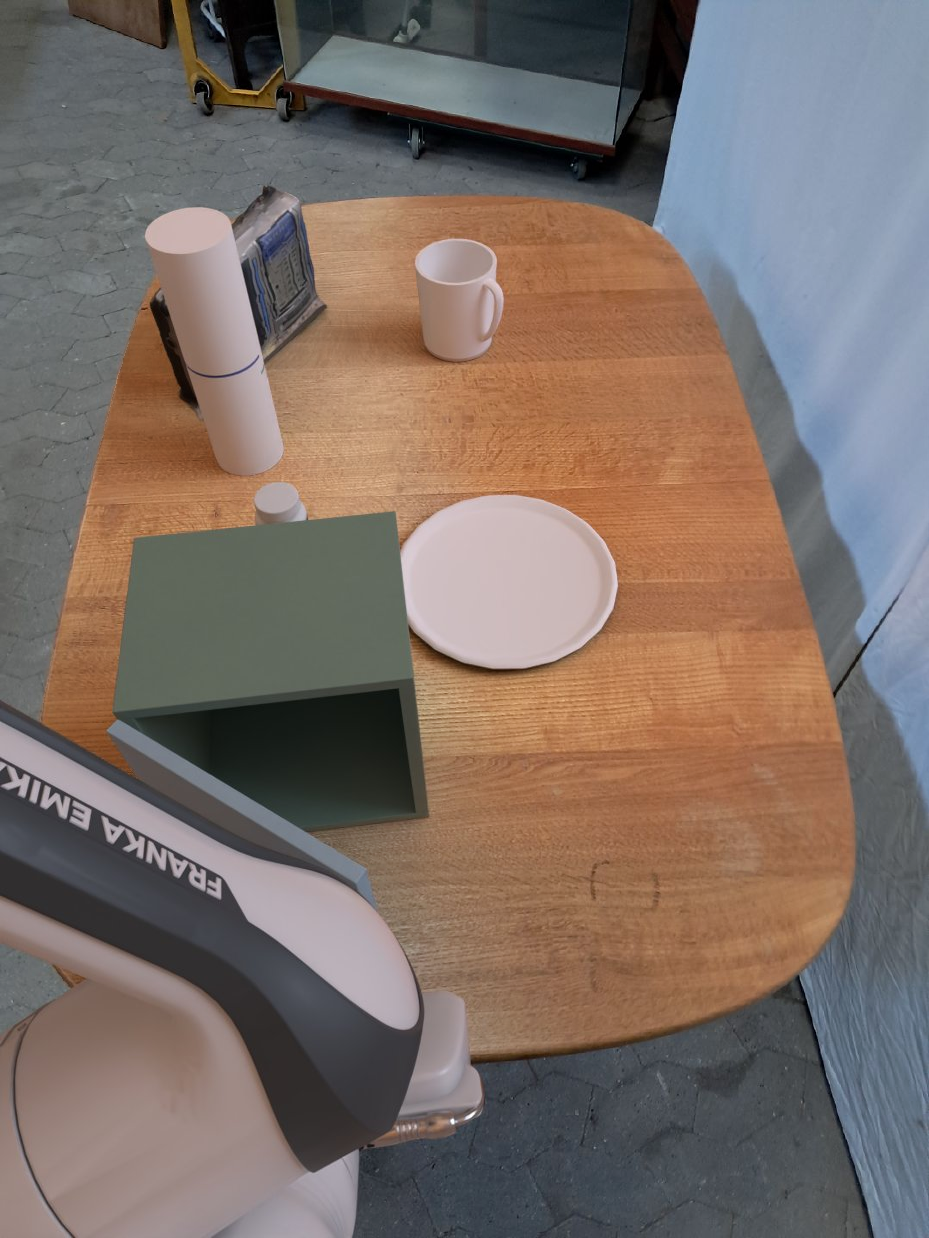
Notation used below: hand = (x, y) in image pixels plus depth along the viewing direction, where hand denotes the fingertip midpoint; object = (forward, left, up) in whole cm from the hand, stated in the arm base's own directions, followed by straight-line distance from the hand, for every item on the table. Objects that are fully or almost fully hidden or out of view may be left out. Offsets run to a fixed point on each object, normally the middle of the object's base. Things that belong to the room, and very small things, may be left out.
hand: (295, 991), depth 55 cm
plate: (+39, +13, -9) cm, 42 cm away
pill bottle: (+29, +31, -9) cm, 43 cm away
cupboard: (+15, +15, -9) cm, 23 cm away
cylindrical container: (+37, +45, -9) cm, 59 cm away
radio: (+49, +56, -9) cm, 75 cm away
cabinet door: (+2, +6, -9) cm, 11 cm away
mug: (+65, +38, -9) cm, 76 cm away
